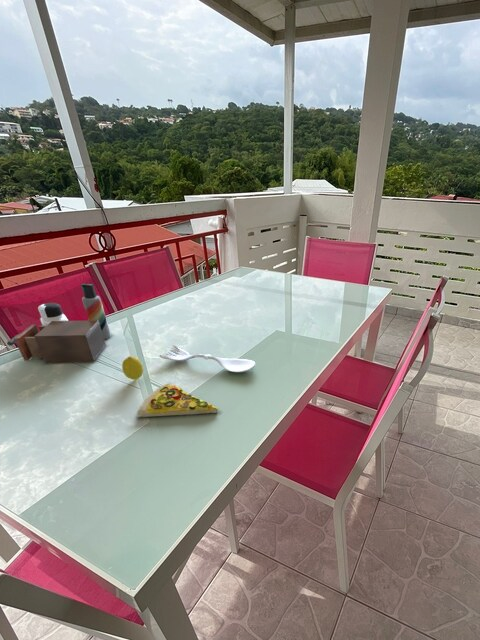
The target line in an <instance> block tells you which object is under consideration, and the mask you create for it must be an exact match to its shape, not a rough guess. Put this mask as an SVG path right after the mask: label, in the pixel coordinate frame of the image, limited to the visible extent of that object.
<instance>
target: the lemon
mask: <svg viewBox="0 0 480 640" xmlns="http://www.w3.org/2000/svg"><path fill="white" fill-rule="evenodd" d="M121 369H122V372H123V374H124V376H125V377H126V378H128V379H130V380H134V381H137V380H138V379H139V378H141V377H142V375H143V373H144V367H143V364H142V362H141V361H140V359H139V358H137V357H135V356H131V355H129V356H127V357H126V358H124V360H123V361H122V364H121Z"/></svg>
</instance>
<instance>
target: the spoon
mask: <svg viewBox="0 0 480 640" xmlns="http://www.w3.org/2000/svg"><path fill="white" fill-rule="evenodd" d="M158 356H159V358H161V359H165V360H169V361H176V362H186V361H189V360H191V359H195V358H202V359H204V360H213V361H216V363H218V364H219V365H220V366H221V367H222V368H223V369H224V370H226V371H227V372H232V373H246V372H249V371H252V370H254V368H255V367H256V362H255V361H254V360H251V359H245V358H225V357H224V358H222V357H217V356H213V355H211V354H203V353H194V354H190V353H189V352H188V351H187V350H184V349H182V348H180V347H179V346H177V345H175V344H172V347H171V349H169V351H167V353H163V354H159V355H158Z"/></svg>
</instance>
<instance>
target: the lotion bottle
mask: <svg viewBox="0 0 480 640" xmlns="http://www.w3.org/2000/svg"><path fill="white" fill-rule="evenodd" d="M80 287H81V290H82V294H83V296H82V298H81V301H82V304H83V308H84V310H85V313H86V316H87V321H99V324H100V327H101V330H102V334H103V337H104V340H108V339H110V338H111V337H112V334H111V329H110V326H109V323H108V319H107V316H106V312H105V309H104V305H103V302H102V299H101V297H100V296H99V295H98V294H97V292H96V289H95V286H94V284H92V283H81V284H80Z"/></svg>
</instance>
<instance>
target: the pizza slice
mask: <svg viewBox="0 0 480 640" xmlns="http://www.w3.org/2000/svg"><path fill="white" fill-rule="evenodd" d="M218 411H219V408H218V407H216V406H214V405H213V404H212V403H210V402H208V401H206V400H204V399H201V398H198V397H196V396H195V395H192V394H190V393H189V392H187V391H186V390H184V389H183V388H181V387H179V386H177V385H175V384H171V383H169V382H167V383H164V384H163V385H161V386H159V387H158V388H156V389H155V390H153V391H152V392H151V393H150V394H148V395H147V397H146V398H145V399H144V400H143V402H142V403H141V405H140V406H139V408H138V410H137V416H138V417H140V418H146V417H147V418H148V417H149V418H150V417H168V416H169V417H170V416H188V415H199V414H200V415H201V414H216V413H218Z"/></svg>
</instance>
